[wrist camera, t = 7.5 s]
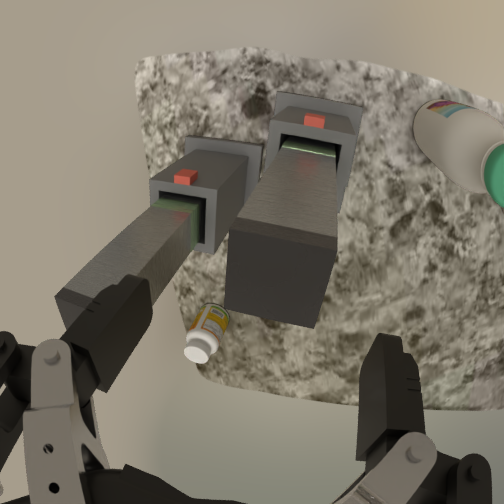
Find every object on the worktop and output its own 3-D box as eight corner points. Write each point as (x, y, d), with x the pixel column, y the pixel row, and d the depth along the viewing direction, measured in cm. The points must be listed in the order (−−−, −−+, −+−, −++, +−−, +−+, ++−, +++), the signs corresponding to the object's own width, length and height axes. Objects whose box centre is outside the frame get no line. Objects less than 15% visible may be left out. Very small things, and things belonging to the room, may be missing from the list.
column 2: (334, 136, 29) (338, 250, 11) (327, 174, 32) (314, 329, 14) (293, 128, 30) (229, 227, 12) (288, 166, 32) (223, 308, 14)
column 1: (220, 181, 35) (103, 315, 17) (218, 214, 37) (117, 359, 19) (186, 176, 35) (54, 296, 17) (185, 208, 37) (70, 339, 19)
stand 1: (263, 144, 39) (234, 176, 28) (255, 216, 44) (227, 269, 33) (188, 135, 40) (135, 163, 29) (186, 203, 45) (141, 250, 35)
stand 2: (362, 106, 33) (378, 122, 23) (346, 184, 39) (351, 232, 28) (278, 91, 35) (253, 99, 24) (268, 168, 40) (242, 209, 29)
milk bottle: (451, 171, 34) (521, 250, 17) (401, 140, 34) (451, 199, 18) (477, 120, 30) (571, 166, 13) (427, 86, 30) (503, 100, 13)
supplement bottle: (205, 325, 58) (186, 365, 50) (196, 302, 55) (174, 342, 47) (233, 326, 56) (216, 367, 48) (225, 302, 54) (206, 344, 46)
